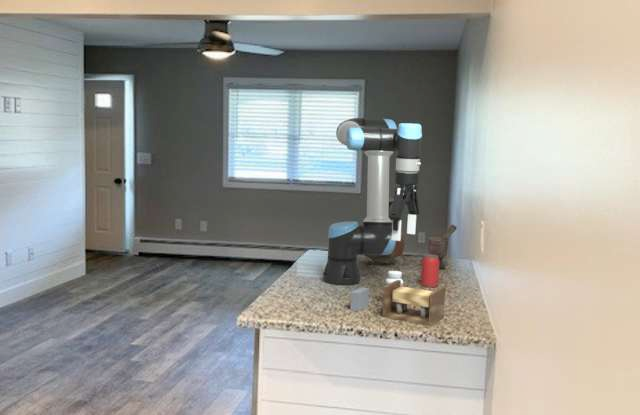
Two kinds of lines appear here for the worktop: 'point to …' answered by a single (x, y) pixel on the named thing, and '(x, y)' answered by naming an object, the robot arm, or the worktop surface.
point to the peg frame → (411, 315)
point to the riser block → (359, 299)
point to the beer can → (430, 270)
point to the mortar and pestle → (440, 245)
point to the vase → (397, 249)
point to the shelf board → (412, 296)
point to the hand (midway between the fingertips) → (403, 237)
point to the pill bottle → (394, 277)
